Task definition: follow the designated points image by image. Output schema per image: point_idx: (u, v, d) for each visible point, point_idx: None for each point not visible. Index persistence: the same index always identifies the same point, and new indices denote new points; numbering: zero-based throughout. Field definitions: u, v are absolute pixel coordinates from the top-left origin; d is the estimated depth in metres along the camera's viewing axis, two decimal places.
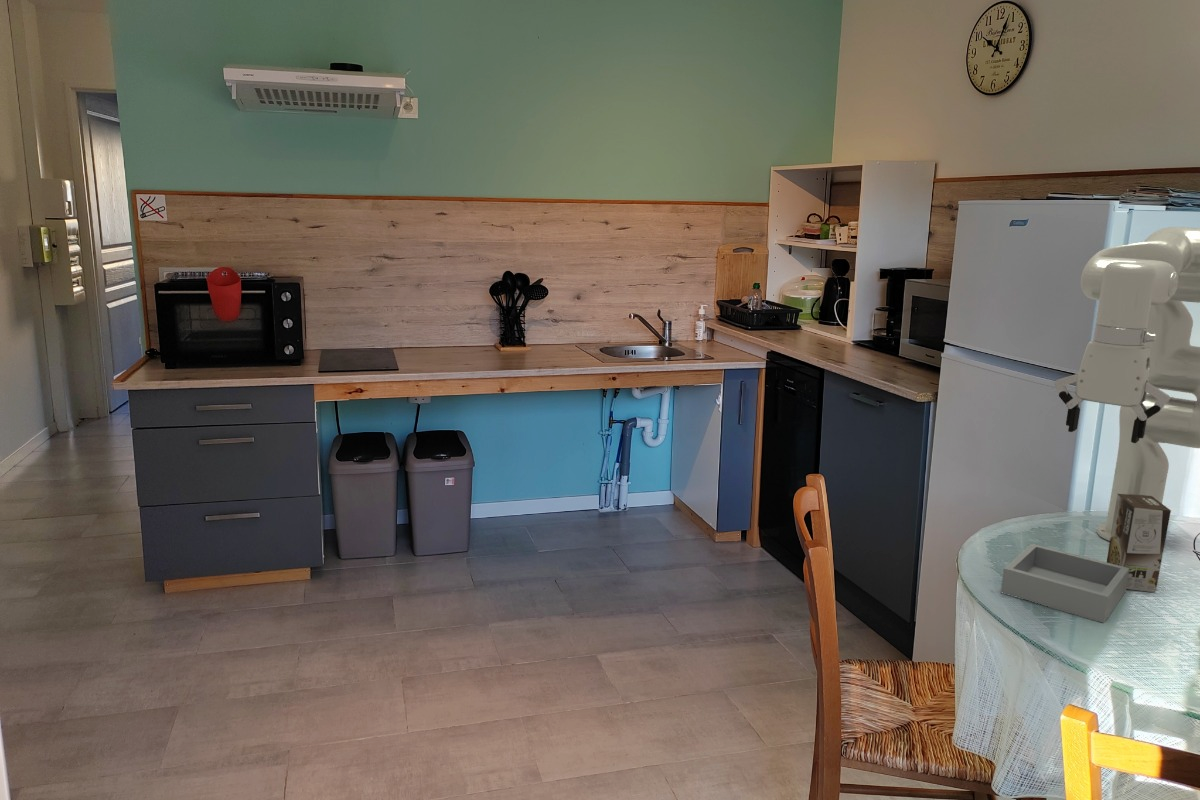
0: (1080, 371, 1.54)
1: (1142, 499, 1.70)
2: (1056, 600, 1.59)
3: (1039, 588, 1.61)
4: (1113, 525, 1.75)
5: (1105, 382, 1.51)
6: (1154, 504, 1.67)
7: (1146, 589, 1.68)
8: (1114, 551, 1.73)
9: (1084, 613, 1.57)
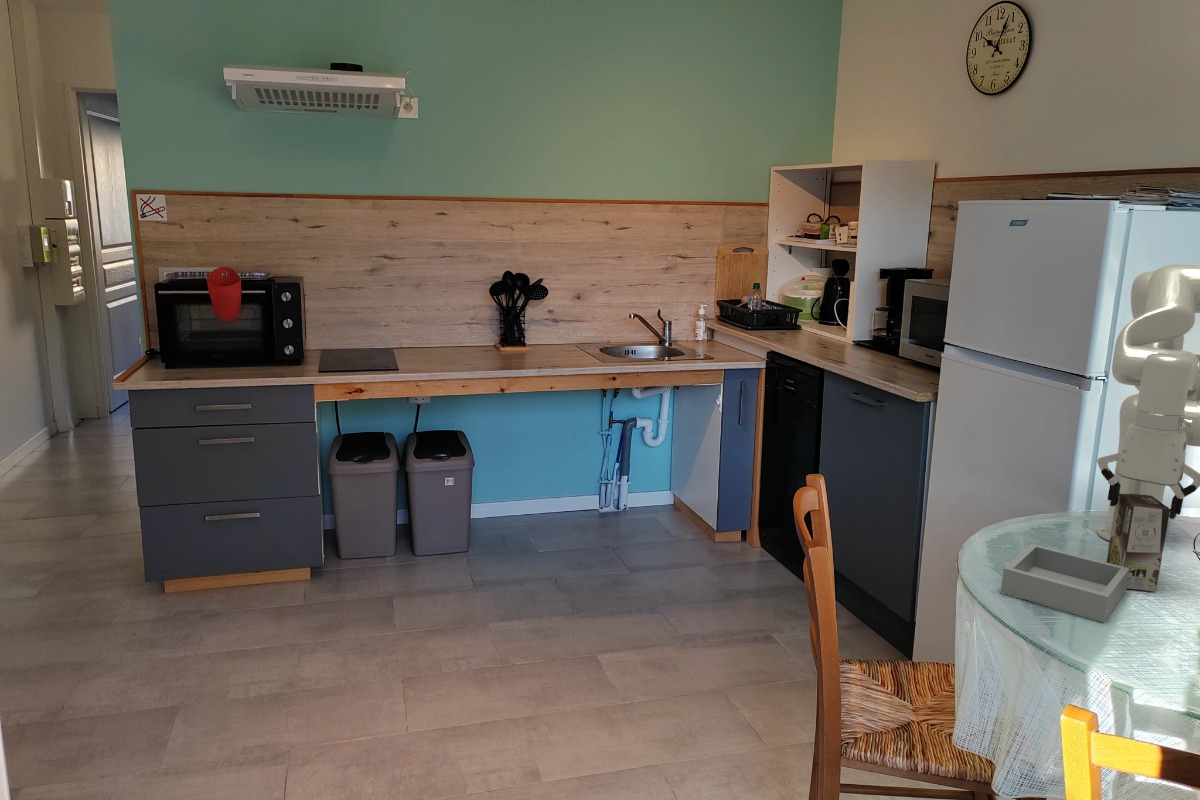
0: (1122, 451, 1.68)
1: (1141, 498, 1.70)
2: (1056, 600, 1.59)
3: (1039, 588, 1.61)
4: (1113, 525, 1.75)
5: (1145, 462, 1.65)
6: (1153, 503, 1.68)
7: (1146, 588, 1.68)
8: (1114, 551, 1.73)
9: (1084, 613, 1.57)
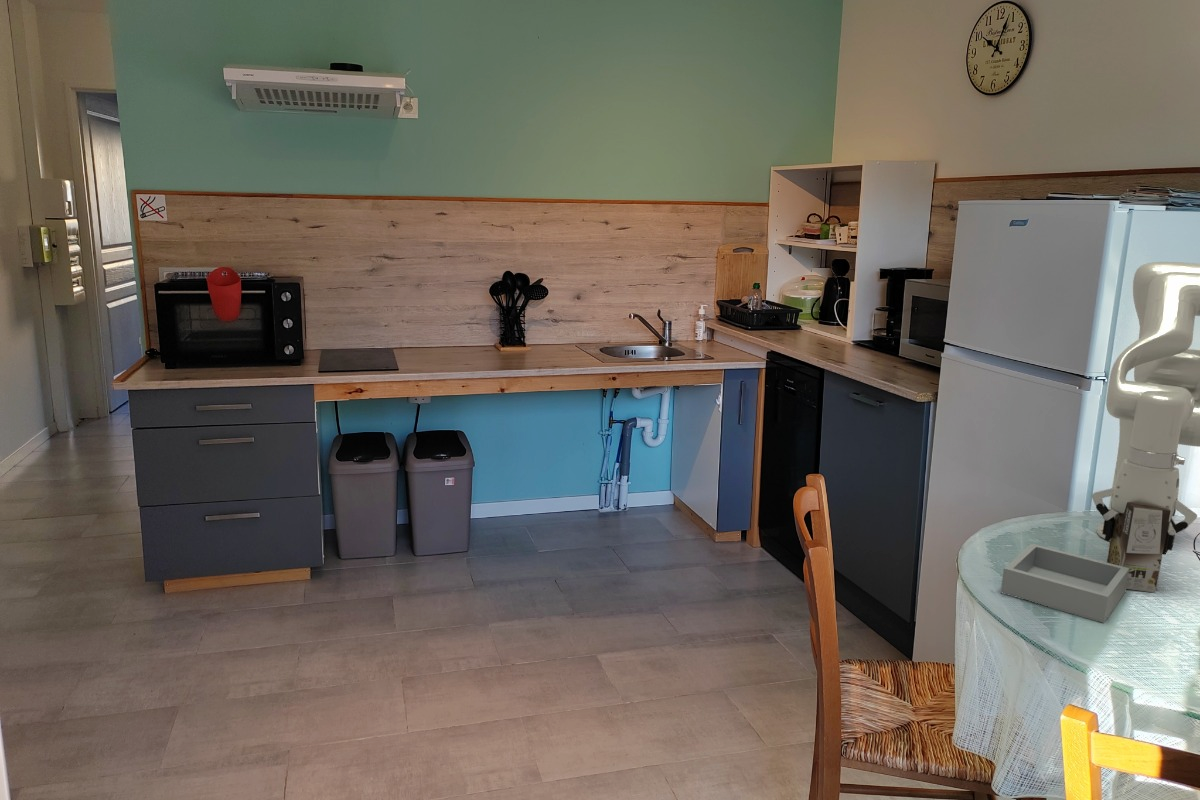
0: (1115, 487, 1.70)
1: None
2: (1056, 600, 1.59)
3: (1039, 588, 1.61)
4: None
5: (1138, 499, 1.67)
6: None
7: (1146, 589, 1.68)
8: (1114, 551, 1.73)
9: (1084, 613, 1.57)
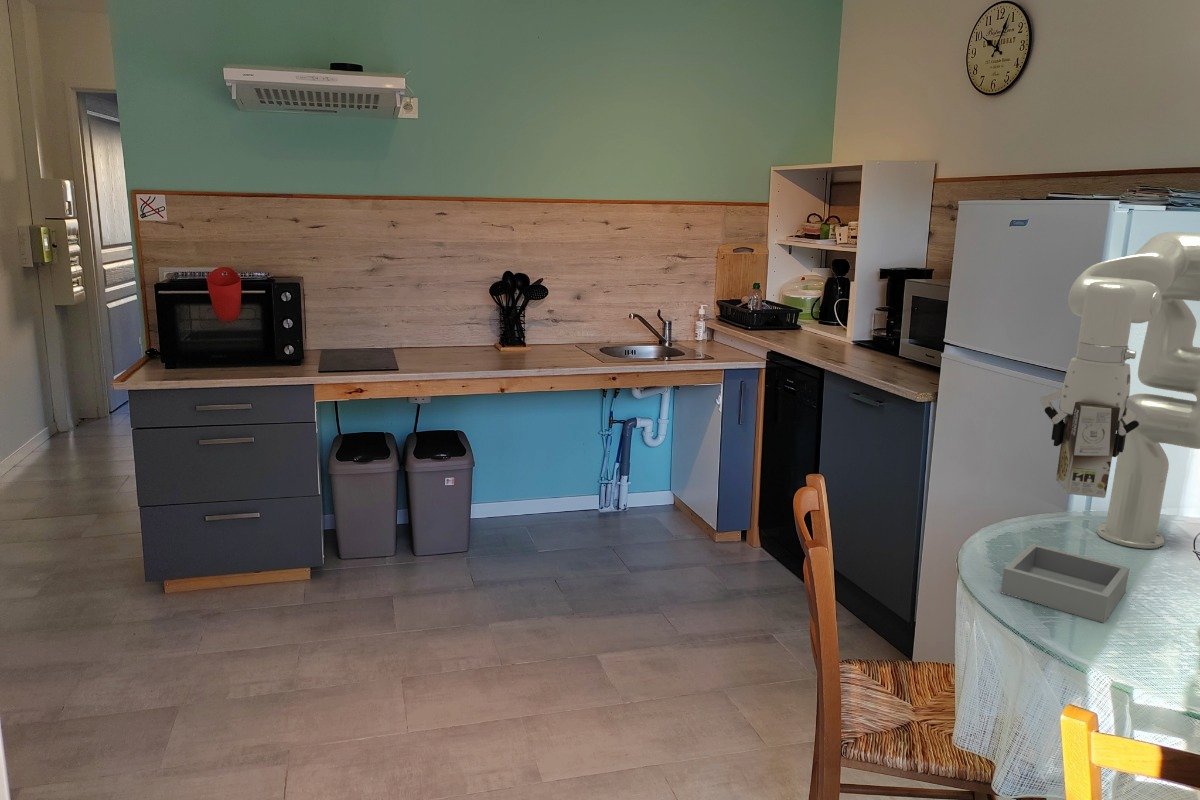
0: (1063, 386, 1.59)
1: None
2: (1056, 600, 1.59)
3: (1039, 588, 1.61)
4: None
5: (1087, 397, 1.57)
6: None
7: (1095, 494, 1.57)
8: (1063, 457, 1.62)
9: (1084, 613, 1.57)
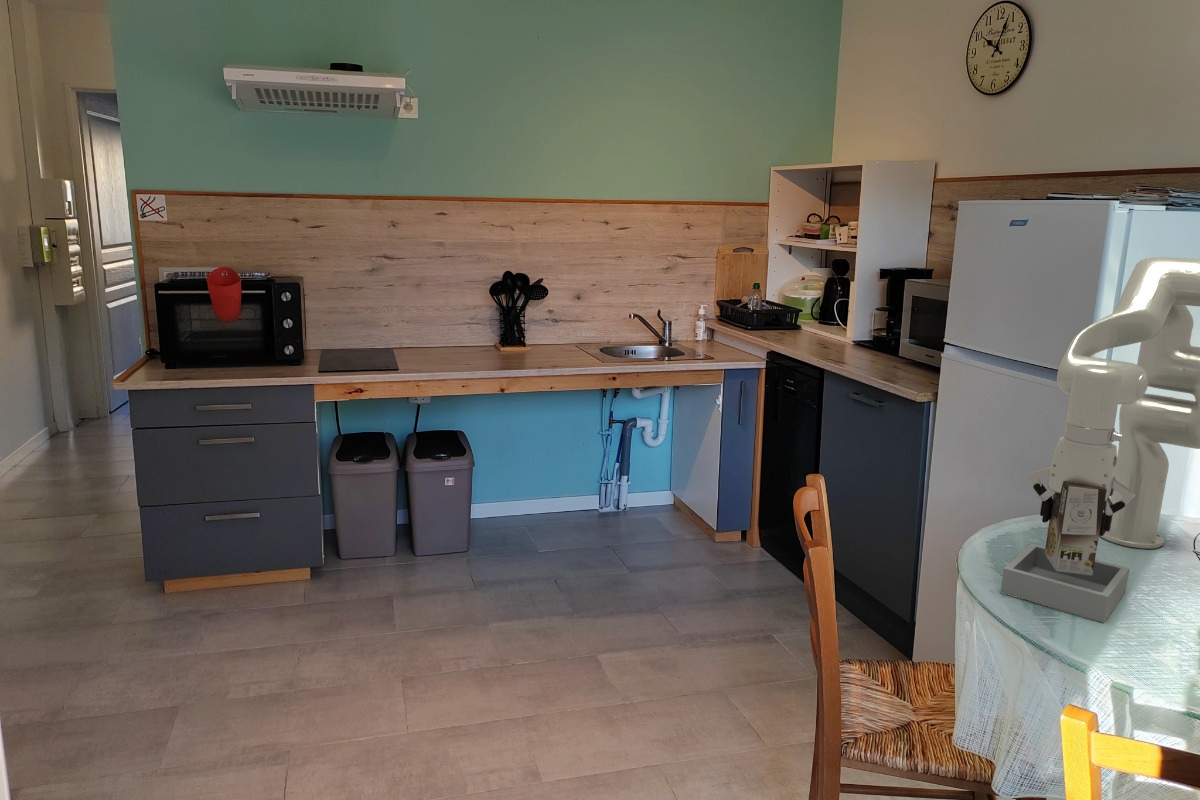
0: (1052, 465, 1.63)
1: None
2: (1056, 600, 1.59)
3: (1039, 588, 1.61)
4: None
5: (1075, 477, 1.60)
6: None
7: (1082, 572, 1.60)
8: (1051, 533, 1.66)
9: (1084, 613, 1.57)
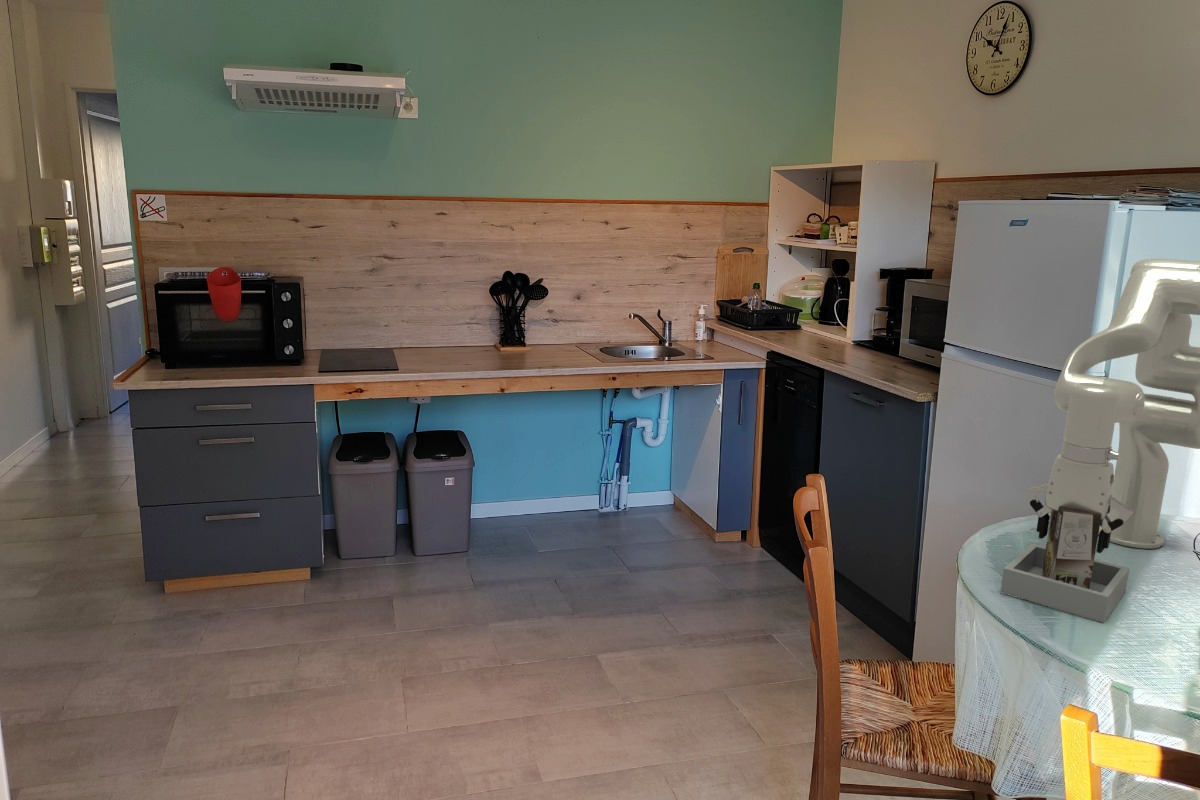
0: (1049, 483, 1.63)
1: None
2: (1056, 600, 1.59)
3: (1039, 588, 1.61)
4: (1049, 529, 1.69)
5: (1072, 495, 1.61)
6: None
7: None
8: (1048, 556, 1.67)
9: (1084, 613, 1.57)
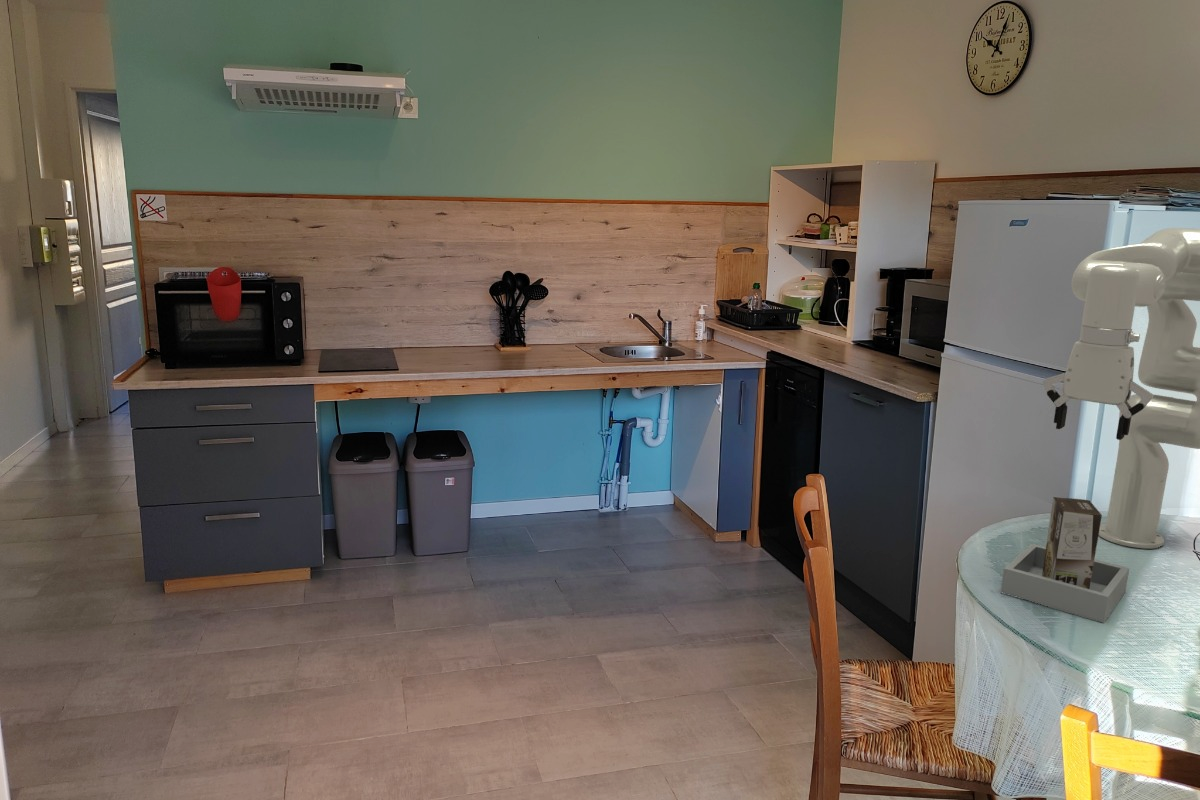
0: (1067, 370, 1.59)
1: (1076, 503, 1.64)
2: (1056, 600, 1.59)
3: (1039, 588, 1.61)
4: (1049, 529, 1.69)
5: (1091, 381, 1.57)
6: (1086, 508, 1.61)
7: None
8: (1048, 556, 1.67)
9: (1084, 613, 1.57)
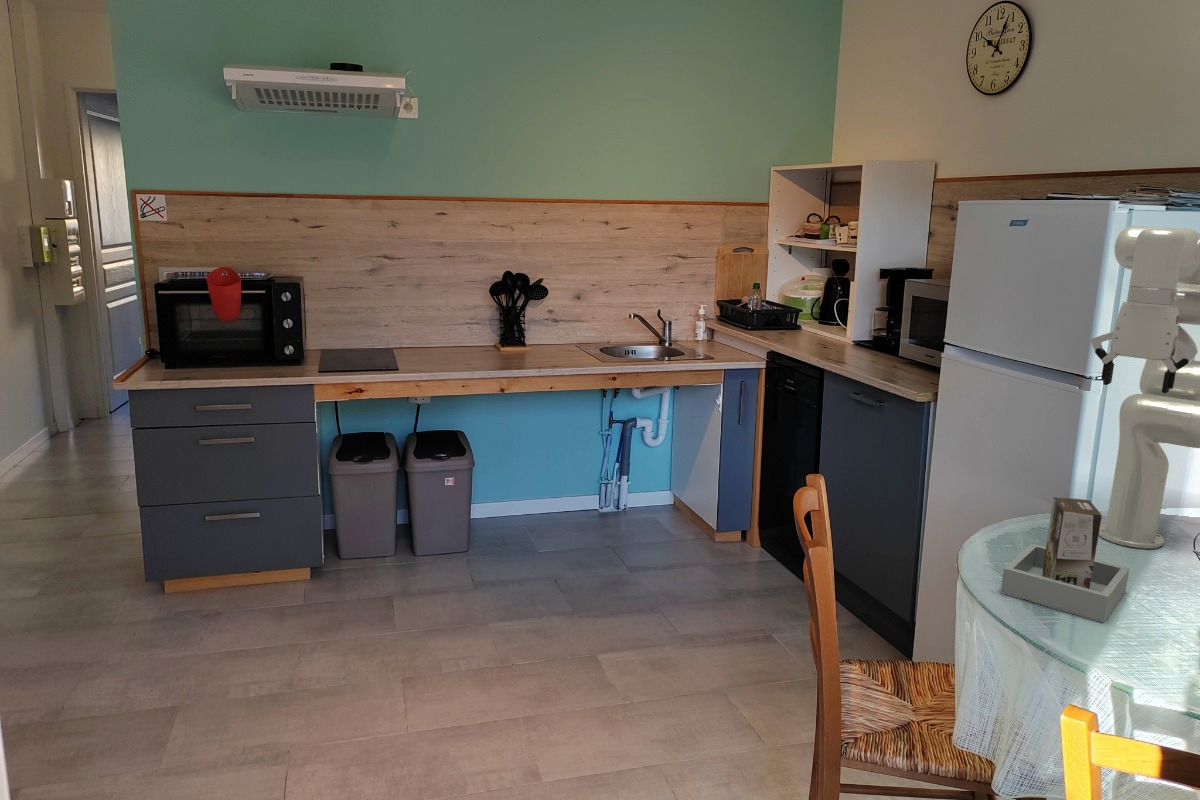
0: (1115, 329, 1.70)
1: (1076, 503, 1.64)
2: (1056, 600, 1.59)
3: (1039, 588, 1.61)
4: (1049, 529, 1.69)
5: (1138, 338, 1.67)
6: (1087, 508, 1.61)
7: None
8: (1048, 556, 1.67)
9: (1084, 613, 1.57)
